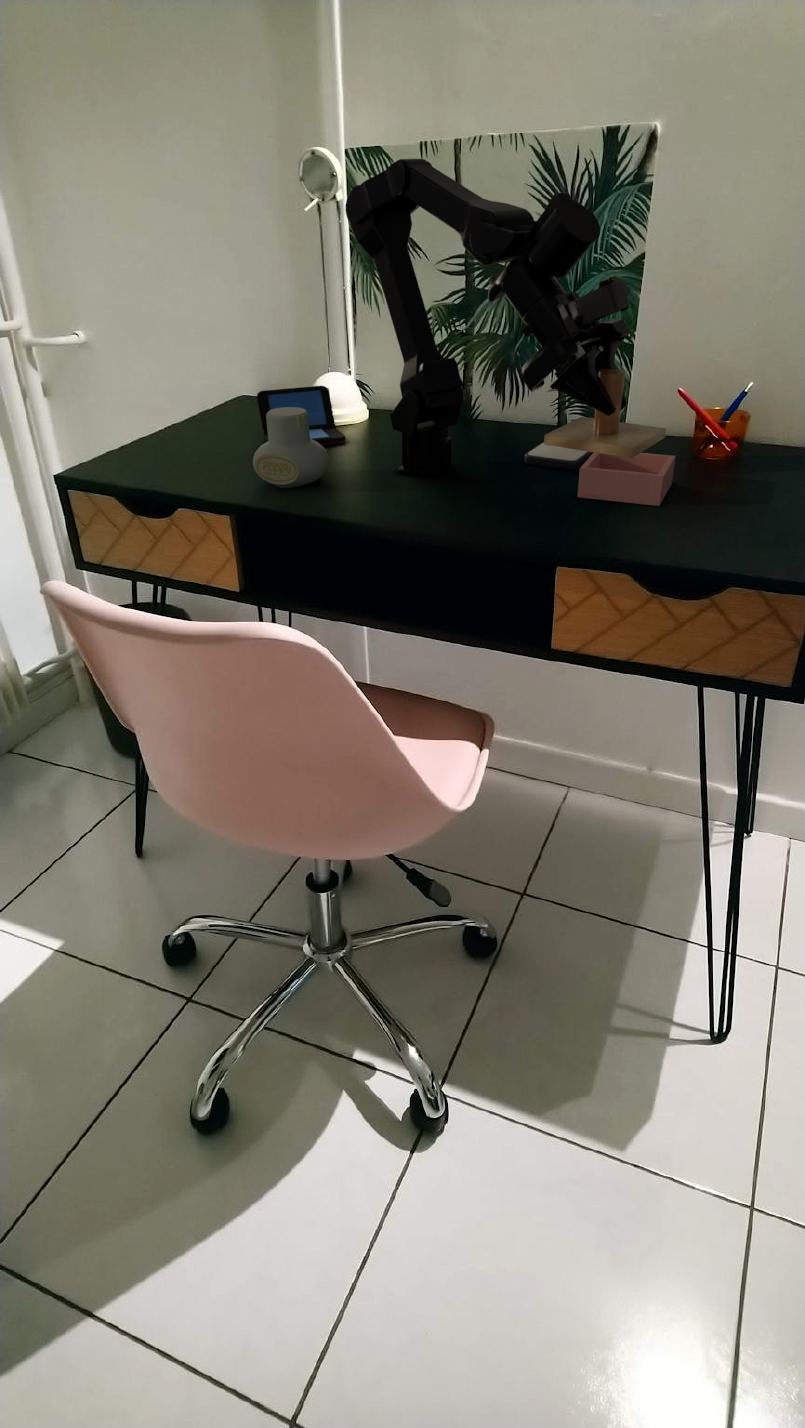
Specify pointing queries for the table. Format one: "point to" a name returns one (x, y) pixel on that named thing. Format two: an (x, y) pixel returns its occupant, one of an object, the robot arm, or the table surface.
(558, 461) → the phone case
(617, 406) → the wooden peg stand
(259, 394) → the handheld console
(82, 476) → the table surface
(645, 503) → the toy box
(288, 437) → the air freshener
